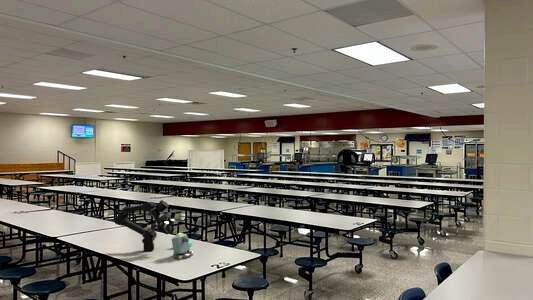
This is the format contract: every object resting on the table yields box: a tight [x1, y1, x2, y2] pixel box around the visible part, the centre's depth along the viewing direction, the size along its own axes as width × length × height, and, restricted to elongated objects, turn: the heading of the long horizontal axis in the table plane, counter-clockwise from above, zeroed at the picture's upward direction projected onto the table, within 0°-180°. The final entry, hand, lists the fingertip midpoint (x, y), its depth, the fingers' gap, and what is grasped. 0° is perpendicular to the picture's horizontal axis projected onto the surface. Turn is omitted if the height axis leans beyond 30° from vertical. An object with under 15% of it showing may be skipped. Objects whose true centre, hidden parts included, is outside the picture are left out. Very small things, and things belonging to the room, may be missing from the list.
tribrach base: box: [172, 250, 194, 261], centre depth 246 cm, size 13×13×4 cm
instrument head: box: [171, 232, 191, 254], centre depth 246 cm, size 10×10×13 cm
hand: (169, 233), depth 254 cm, fingers open, 3 cm apart
